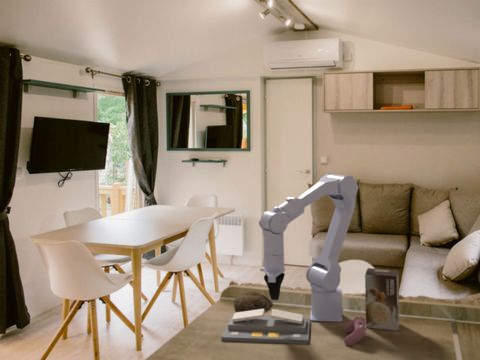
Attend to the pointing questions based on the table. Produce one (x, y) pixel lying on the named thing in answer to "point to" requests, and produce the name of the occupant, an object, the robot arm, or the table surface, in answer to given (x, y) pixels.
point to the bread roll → (251, 302)
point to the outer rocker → (248, 315)
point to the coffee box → (382, 299)
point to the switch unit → (267, 330)
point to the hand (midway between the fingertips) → (274, 299)
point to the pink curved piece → (355, 330)
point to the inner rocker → (286, 316)
